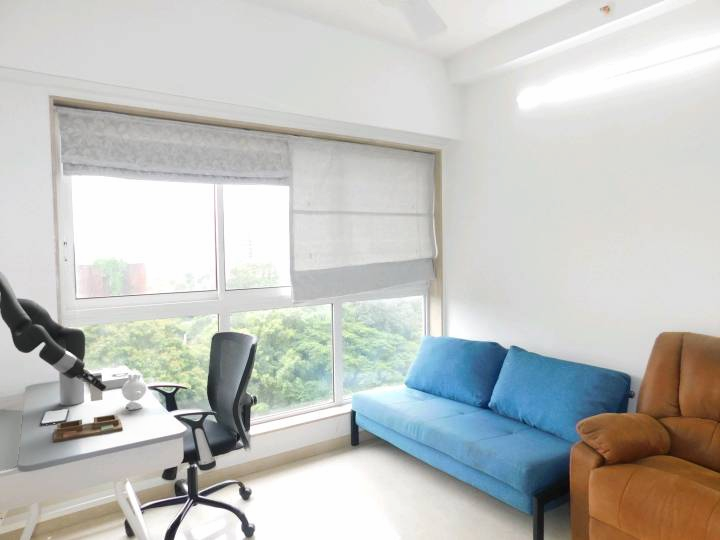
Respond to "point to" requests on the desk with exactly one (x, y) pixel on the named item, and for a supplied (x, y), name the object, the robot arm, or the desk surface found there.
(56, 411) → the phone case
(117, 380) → the power supply unit
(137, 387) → the toy robot
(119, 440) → the desk surface
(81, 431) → the panel
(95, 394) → the grey-capped white pillar
